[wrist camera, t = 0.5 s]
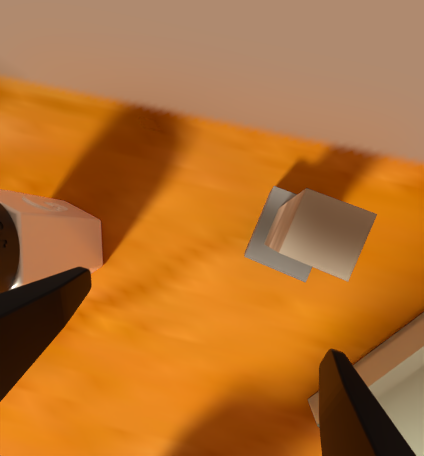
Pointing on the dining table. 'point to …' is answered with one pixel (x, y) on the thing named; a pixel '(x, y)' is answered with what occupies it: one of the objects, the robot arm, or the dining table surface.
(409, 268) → the dining table surface
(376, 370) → the tray
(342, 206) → the square pillar on base
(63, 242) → the jar
